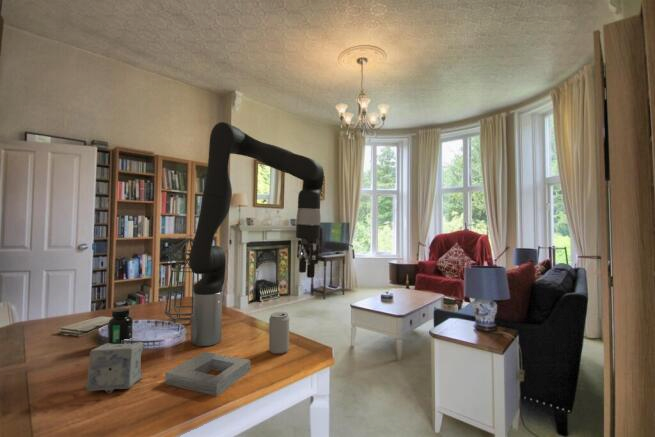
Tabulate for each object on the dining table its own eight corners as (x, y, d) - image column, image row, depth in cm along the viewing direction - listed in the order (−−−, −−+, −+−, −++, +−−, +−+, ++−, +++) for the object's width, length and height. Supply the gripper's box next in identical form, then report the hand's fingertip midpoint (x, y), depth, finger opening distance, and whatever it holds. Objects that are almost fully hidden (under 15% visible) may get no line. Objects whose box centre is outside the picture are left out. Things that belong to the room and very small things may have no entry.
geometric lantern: (173, 316, 138) (176, 236, 139) (210, 316, 140) (213, 237, 141) (157, 328, 122) (162, 238, 123) (199, 328, 124) (203, 239, 125)
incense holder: (143, 376, 85) (144, 337, 85) (129, 393, 77) (130, 350, 77) (103, 379, 83) (104, 339, 83) (84, 396, 75) (85, 352, 75)
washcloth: (55, 335, 115) (55, 327, 115) (102, 321, 133) (102, 313, 133) (80, 339, 112) (80, 330, 112) (124, 323, 130) (124, 316, 130)
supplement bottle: (118, 351, 101) (118, 313, 101) (102, 348, 103) (103, 311, 104) (137, 343, 108) (137, 308, 108) (122, 340, 110) (122, 306, 110)
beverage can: (285, 356, 99) (285, 317, 99) (265, 354, 100) (266, 316, 100) (291, 348, 105) (291, 311, 105) (273, 346, 106) (273, 310, 106)
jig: (165, 384, 81) (165, 372, 81) (204, 361, 94) (204, 351, 94) (216, 396, 75) (216, 383, 76) (250, 370, 89) (250, 360, 89)
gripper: (290, 222, 104) (288, 271, 104) (303, 223, 91) (301, 279, 91) (312, 223, 107) (310, 270, 107) (327, 224, 94) (325, 278, 94)
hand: (306, 274), depth 99 cm, fingers open, 8 cm apart
